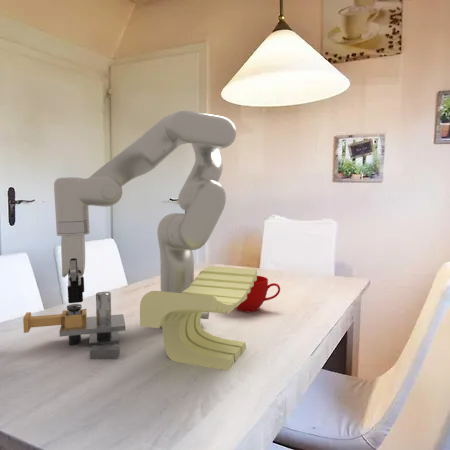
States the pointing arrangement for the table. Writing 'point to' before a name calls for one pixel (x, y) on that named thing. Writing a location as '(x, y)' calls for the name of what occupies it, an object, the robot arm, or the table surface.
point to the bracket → (55, 320)
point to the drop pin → (74, 310)
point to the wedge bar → (105, 352)
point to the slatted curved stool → (199, 316)
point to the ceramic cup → (257, 295)
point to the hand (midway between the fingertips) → (76, 297)
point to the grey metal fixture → (100, 323)
